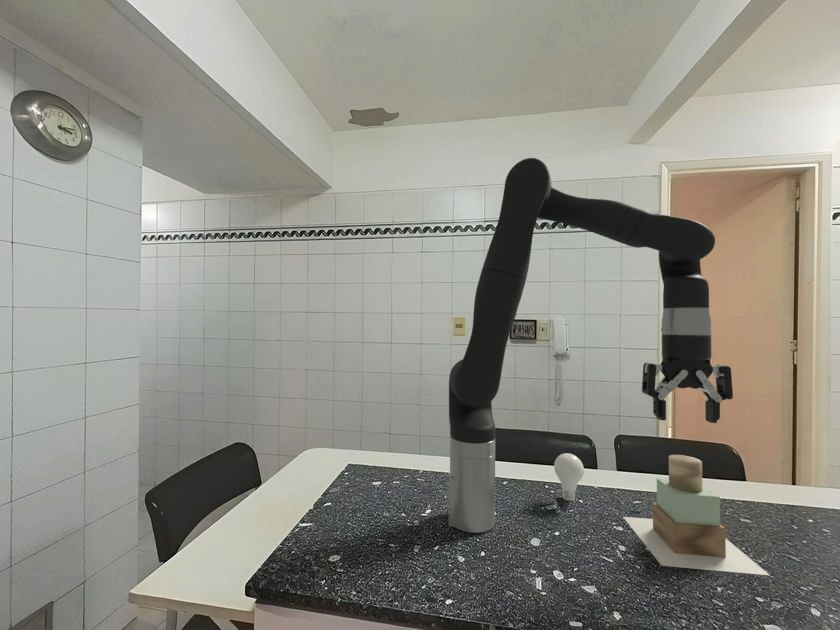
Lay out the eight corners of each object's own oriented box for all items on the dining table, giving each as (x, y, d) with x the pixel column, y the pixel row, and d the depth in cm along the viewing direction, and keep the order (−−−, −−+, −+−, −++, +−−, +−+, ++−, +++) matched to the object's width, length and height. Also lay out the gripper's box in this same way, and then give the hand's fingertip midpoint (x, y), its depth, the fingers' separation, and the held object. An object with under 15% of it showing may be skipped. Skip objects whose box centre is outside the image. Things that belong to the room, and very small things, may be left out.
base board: (661, 571, 62) (661, 565, 62) (622, 521, 78) (622, 516, 78) (770, 581, 59) (770, 575, 60) (707, 528, 75) (707, 523, 75)
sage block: (676, 522, 66) (676, 493, 66) (656, 504, 73) (656, 477, 73) (720, 526, 65) (719, 496, 65) (696, 506, 72) (695, 480, 72)
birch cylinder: (677, 491, 67) (677, 463, 67) (663, 480, 72) (663, 453, 72) (708, 493, 66) (708, 465, 66) (692, 482, 71) (692, 455, 71)
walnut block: (675, 553, 65) (674, 523, 65) (652, 528, 73) (652, 502, 73) (725, 557, 64) (725, 527, 64) (697, 532, 72) (697, 505, 72)
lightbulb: (586, 510, 82) (586, 460, 82) (556, 507, 83) (556, 457, 84) (580, 497, 88) (580, 450, 88) (552, 495, 89) (552, 448, 90)
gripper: (654, 332, 67) (654, 424, 66) (742, 334, 65) (743, 428, 64) (635, 332, 74) (636, 414, 74) (714, 333, 72) (715, 418, 72)
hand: (686, 420), depth 69 cm, fingers open, 8 cm apart
